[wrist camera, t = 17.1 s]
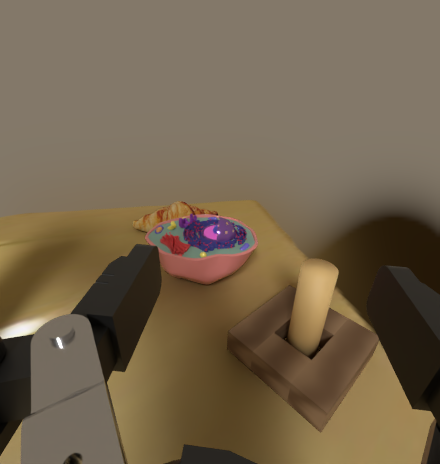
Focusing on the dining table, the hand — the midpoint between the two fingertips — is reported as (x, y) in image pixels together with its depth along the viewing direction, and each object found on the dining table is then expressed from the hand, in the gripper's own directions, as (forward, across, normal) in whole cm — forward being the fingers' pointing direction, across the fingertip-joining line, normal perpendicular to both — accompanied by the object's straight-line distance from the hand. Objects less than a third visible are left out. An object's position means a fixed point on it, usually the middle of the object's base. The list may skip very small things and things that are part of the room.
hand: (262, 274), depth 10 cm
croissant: (+52, +18, +27) cm, 61 cm away
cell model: (+34, +8, +27) cm, 44 cm away
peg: (+18, -8, +26) cm, 32 cm away
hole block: (+18, -8, +26) cm, 33 cm away
